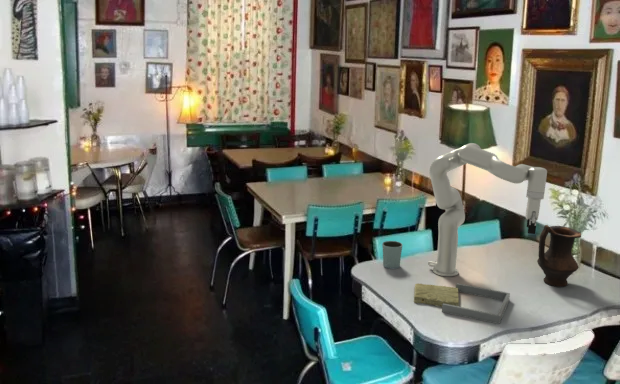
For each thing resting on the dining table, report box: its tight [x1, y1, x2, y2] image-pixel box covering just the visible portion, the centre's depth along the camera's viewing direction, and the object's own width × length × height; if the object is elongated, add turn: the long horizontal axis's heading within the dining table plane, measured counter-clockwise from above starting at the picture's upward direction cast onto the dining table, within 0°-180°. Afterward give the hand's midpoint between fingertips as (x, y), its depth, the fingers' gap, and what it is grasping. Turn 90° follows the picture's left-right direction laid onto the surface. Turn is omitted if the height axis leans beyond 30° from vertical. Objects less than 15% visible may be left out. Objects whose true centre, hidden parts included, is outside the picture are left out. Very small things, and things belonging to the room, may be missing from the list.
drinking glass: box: [382, 240, 403, 270], centre depth 316 cm, size 10×10×12 cm
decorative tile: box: [413, 283, 460, 308], centre depth 279 cm, size 19×20×4 cm
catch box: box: [441, 282, 511, 325], centre depth 271 cm, size 24×27×4 cm
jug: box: [536, 224, 582, 288], centre depth 296 cm, size 21×18×30 cm
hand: (530, 230), depth 284 cm, fingers open, 9 cm apart
